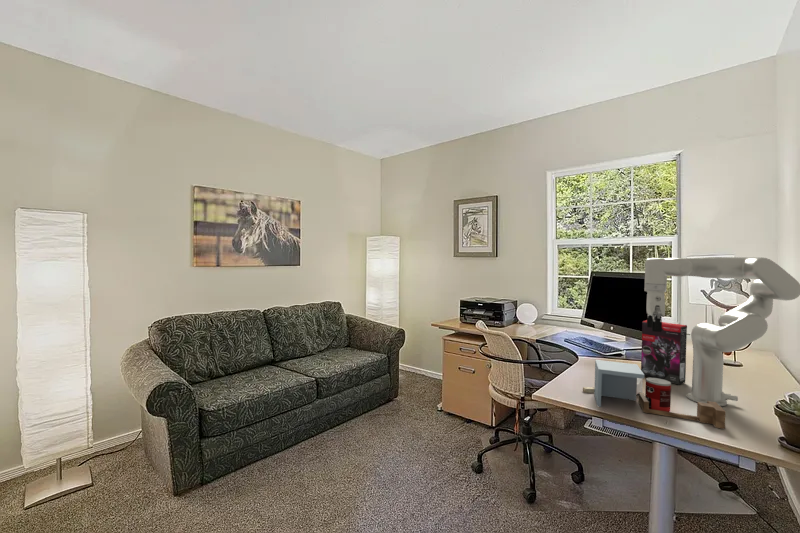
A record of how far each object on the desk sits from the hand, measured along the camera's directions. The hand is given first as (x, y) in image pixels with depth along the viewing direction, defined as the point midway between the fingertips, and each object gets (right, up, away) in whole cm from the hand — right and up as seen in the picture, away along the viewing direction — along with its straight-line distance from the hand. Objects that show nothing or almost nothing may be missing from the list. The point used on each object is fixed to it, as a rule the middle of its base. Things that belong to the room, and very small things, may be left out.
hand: (653, 329), depth 154 cm
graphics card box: (+21, -28, +25) cm, 43 cm away
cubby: (-19, -28, -7) cm, 35 cm away
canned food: (-7, -29, -12) cm, 32 cm away
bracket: (-8, -29, +9) cm, 31 cm away
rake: (-2, -28, -17) cm, 33 cm away
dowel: (-20, -28, +6) cm, 35 cm away
